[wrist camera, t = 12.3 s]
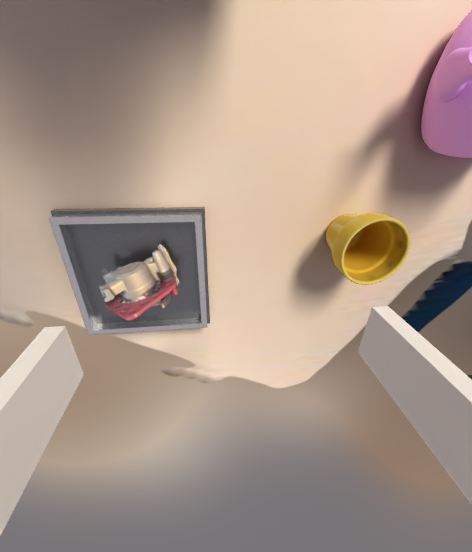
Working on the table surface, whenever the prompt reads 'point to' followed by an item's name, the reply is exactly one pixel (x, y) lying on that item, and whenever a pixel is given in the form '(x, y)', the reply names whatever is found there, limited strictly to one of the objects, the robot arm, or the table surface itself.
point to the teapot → (451, 97)
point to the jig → (135, 248)
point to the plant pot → (368, 246)
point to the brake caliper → (140, 285)
